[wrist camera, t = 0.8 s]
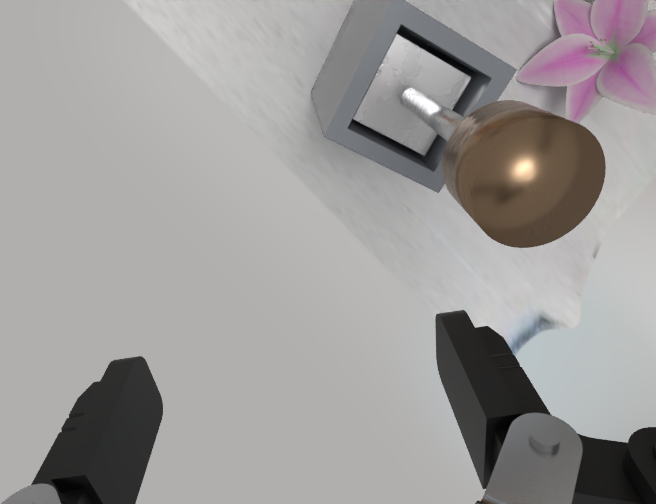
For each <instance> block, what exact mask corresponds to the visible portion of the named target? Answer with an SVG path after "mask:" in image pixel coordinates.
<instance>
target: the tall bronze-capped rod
mask: <svg viewBox="0 0 656 504" xmlns="http://www.w3.org/2000/svg"><path fill="white" fill-rule="evenodd" d="M470 79H471V77H469V76H468V75H466V74H464V73H463V72H461V71H459V70H457V69H456V68H454V67H452V66H451V65H449V64H447V63H445V62H444V61H442V60H440V59H439V58H437V57H435V56H434V55H432V54H430V53H428V52H427V51H425V50H423V49H422V48H420V47H418V46H417V45H415V44H413V43H411V42H410V41H408V40H406V39H405V38H403V37H401V36H400V35H398V34H396V35H395V37H394V39H393V41H392V43H391V45H390V47H389V49H388V50H387V52H386V54H385V56H384V58H383V60H382V62H381V64H380V66H379V68H378V70H377V72H376V74H375V76H374V78H373V80H372V81H371V83H370V85H369V87H368V89H367V91H366V93H365V95H364V97H363V99H362V101H361V103H360V105H359V107H358V109H357V111H356V113H355V114H354V116H353V119H354V120H356V121H358V122H360V123H362V124H364V125H366V126H368V127H370V128H372V129H373V130H375V131H377V132H379V133H381V134H383V135H385V136H387V137H389V138H391V139H393V140H395V141H397V142H399V143H401V144H403V145H405V146H407V147H409V148H411V149H412V150H414V151H416V152H418V153H420V154H422V155H424V156H425V154H426V153H427V151H428V149H429V148H430V146H431V144H432V143H433V141H434V139H435V138H436V136H437V134H439V135H440V136H441V137H443V138H444V139H445V140H446V141H448V142H447V145H446V147H445V150H444V154H443V160H442V173H443V179H444V182H445V185H446V187H447V189H448V191H449V192H450V194H451V195H452V196H453V197H454V199H455V200H456V201H457V202H458V203H459V204H460V205H461V206H462V207H463V209H464V210H465V211H466V212H467V213H468V214H469V215H470V216H471V217H472V219H473V220H474V221H475V222H476V223H477V224H478V225H479V226H480V228H481V229H482V230H483V231H484V232H485V233H486V234H487V235H488V236H489V237H491V238H492V239H493V240H495V241H497V242H499V243H501V244H504V245H507V246H511V247H519V248H527V247H535V246H540V245H544V244H547V243H549V242H552V241H554V240H556V239H558V238H560V237H562V236H564V235H565V234H567V233H568V232H570V231H571V230H572V229H574V228H575V227H576V226H577V225H578V224H579V223H580V222H581V221H582V220H583V219H584V218H585V217H586V216H587V215H588V213H589V212H590V211H591V209H592V208H593V206H594V205H595V203H596V201H597V199H598V197H599V195H600V193H601V190H602V187H603V183H604V178H605V157H604V154H603V150H602V148H601V145H600V143H599V142H598V140H597V139H596V137H595V136H594V135H593V134H592V133H591V132H590V131H589V130H588V129H586V128H585V127H583V126H582V125H580V124H577V123H575V122H573V121H570V120H568V119H565V118H562V117H560V116H557V115H555V114H552V113H550V112H547V111H544V110H542V109H539V108H537V107H534V106H531V105H529V104H526V103H523V102H520V101H513V100H504V101H497V102H493V103H490V104H487V105H485V106H482V107H480V108H479V109H477V110H475V111H474V112H472V113H471V114H469V115H468V116H467V117H466V118H464V117H462V116H461V115H459V114H457V113H456V112H454V111H452V109H453V108H454V106H455V104H456V103H457V101H458V99H459V98H460V96H461V94H462V93H463V91H464V89H465V88H466V86H467V84H468V83H469V81H470Z"/></svg>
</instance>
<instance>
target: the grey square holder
mask: <svg viewBox="0 0 656 504" xmlns="http://www.w3.org/2000/svg"><path fill="white" fill-rule="evenodd" d="M396 34H398V35H400V36H401V37H403V38H405V39H406V40H408V41H410V42H411V43H413V44H415V45H417V46H418V47H420V48H422V49H423V50H425V51H427V52H428V53H430V54H432V55H434V56H435V57H437V58H439V59H440V60H442V61H444V62H445V63H447V64H449V65H451V66H452V67H454V68H456V69H457V70H459V71H461V72H463V73H464V74H466V75H468V76H469V77H471V79H470V81H469V83H468V84H467V86H466V88H465V89H464V91H463V93H462V94H461V96H460V98H459V99H458V101H457V103H456V104H455V106H454V108H453V109H452V111H454V112H456V113H457V114H459V115H461V116H462V117H464V118H466V117H467V116H468V115H469V114H471V113H472V112H474V111H475V110H477V109H479V108H480V107H482V106H485V105H487V104H490V103H493V102H497V100H498V99H499V97H500V96H501V94H502V92H503V91H504V89H505V88H506V86H507V85H508V83H509V81H510V80H511V78H512V77H513V75H514V73H515V72H516V70H517V69H515V68H513V67H512V66H510V65H509V64H507V63H505V62H504V61H502V60H500V59H499V58H497V57H496V56H494V55H492V54H491V53H489V52H487V51H486V50H484V49H483V48H481V47H479V46H478V45H476V44H474V43H473V42H471V41H470V40H468V39H466V38H465V37H463V36H461V35H460V34H458V33H456V32H455V31H453V30H452V29H450V28H448V27H447V26H445V25H443V24H442V23H440V22H439V21H437V20H435V19H434V18H432V17H430V16H429V15H427V14H426V13H424V12H422V11H421V10H419V9H417V8H416V7H414V6H413V5H411V4H409V3H408V2H406V1H404V0H354V1H353V3H352V5H351V7H350V10H349V12H348V14H347V16H346V18H345V20H344V22H343V25H342V27H341V29H340V31H339V33H338V35H337V37H336V40H335V42H334V44H333V46H332V48H331V50H330V52H329V54H328V57H327V59H326V61H325V63H324V65H323V67H322V69H321V72H320V74H319V76H318V78H317V80H316V82H315V84H314V87H313V89H312V91H311V96H312V99H313V102H314V106H315V109H316V112H317V115H318V119H319V122H320V125H321V129H322V132H323V135H324V137H326V138H328V139H330V140H332V141H334V142H336V143H338V144H340V145H342V146H344V147H346V148H348V149H350V150H352V151H354V152H356V153H358V154H360V155H362V156H364V157H367V158H369V159H371V160H373V161H375V162H377V163H379V164H381V165H383V166H385V167H387V168H389V169H391V170H393V171H395V172H397V173H399V174H401V175H403V176H405V177H407V178H409V179H411V180H413V181H415V182H417V183H419V184H421V185H424V186H426V187H428V188H430V189H432V190H434V191H436V192H438V193H439V192H440V190H441V188H442V187H443V185H444V184H445V182H444V179H443V173H442V160H443V154H444V150H445V147H446V145H447V142H448V141H446V140H445V139H444V138H443V137H441V136H440V135H439V134H437V136H436V138H435V139H434V141H433V143H432V144H431V146H430V148H429V149H428V151H427V153H426V154H425V156H424V155H422V154H420V153H418V152H416V151H414V150H412V149H411V148H409V147H407V146H405V145H403V144H401V143H399V142H397V141H395V140H393V139H391V138H389V137H387V136H385V135H383V134H381V133H379V132H377V131H375V130H373V129H372V128H370V127H368V126H366V125H364V124H362V123H360V122H358V121H356V120H354V119H353V116H354V114H355V113H356V111H357V109H358V107H359V105H360V103H361V101H362V99H363V97H364V95H365V93H366V91H367V89H368V87H369V85H370V83H371V81H372V80H373V78H374V76H375V74H376V72H377V70H378V68H379V66H380V64H381V62H382V60H383V58H384V56H385V54H386V52H387V50H388V49H389V47H390V45H391V43H392V41H393V39H394V37H395V35H396Z"/></svg>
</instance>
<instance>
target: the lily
mask: <svg viewBox="0 0 656 504" xmlns="http://www.w3.org/2000/svg"><path fill="white" fill-rule="evenodd" d="M647 8H648V0H595V1H594V3H593V4H591V3H588V2H586V1H583V0H554V11H555V17H556V21H557V25H558V29H559V32H560V34H561V37H560V38H558V39H557V40H555V41H553V42H551V43H550V44H549V45H547V46H546V47H545V48H543V49H542V50H541V51H540V52H538V53H537V54H536V55H535V56H534V57H533V58H531V59H530V60H529V61H528V62H527V63H526V64H525V65H524V66H523V67H522V68H521V70H520V71H519V72H518V74H517V78H516V79H517V80H518V81H519V82H522V83H526V84H533V85H543V86H555V87H558V86H568V87H567V92H566V108H565V109H566V119H568V120H570V121H573V122H575V123H577V124H578V123H579V122H580V121H581V120H582V119H583V118H584V117H585V116H586V115H587V114H588V113H589V112H590V110H591V109H592V108H593V107H594V106H595V105H596V104H597V103H598V101H599V100H600V99H601V98H602V97H603V96H605V97H606V98H608V99H610V100H612V101H614V102H617V103H619V104H622V105H624V106H627V107H629V108H632V109H635V110H638V111H641V112H644V113H649V114H656V64H655V60H654V58H653V55H652V53H654V52H655V51H656V10H652V11H647Z"/></svg>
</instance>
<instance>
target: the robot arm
mask: <svg viewBox="0 0 656 504" xmlns="http://www.w3.org/2000/svg"><path fill="white" fill-rule="evenodd" d="M436 358H437V365H438V371H439V374H440V378H441V381H442V384H443V386H444V389H445V392H446V394H447V397H448V399H449V402H450V404H451V407H452V409H453V412H454V415H455V417H456V420H457V423H458V425H459V428H460V430H461V433H462V436H463V438H464V441H465V443H466V446H467V449H468V451H469V454H470V456H471V459H472V462H473V464H474V467H475V469H476V472H477V475H478V477H479V480H480V482H481V485H482V487H483V489H486V491H485V494H484V496H483V499H482V500H481V501H477V502H476V503H475V504H656V427H648V428H642V429H640V430H637V431H636V432H634V433H633V434H632V435H631V437H630V439H629V441H628V443H624V442H617V441H610V440H609V441H608V440H602V439H595V438H590V437H586V436H582V435H580V434H577V433H576V431H575V430H574V429H573V428H572V427H571V426H570V425H569V424H567V423H566V422H564V421H562V420H561V419H559V418H557V417H554V416H552V415H551V414H550V412H549V411H548V409H547V408H546V406H545V404H544V403H543V401H542V400H541V398H540V397H539V395H538V393H537V392H536V390H535V388H534V387H533V385H532V383H531V382H530V380H529V378H528V377H527V375H526V374H525V372H524V370H523V369H522V367H520V365H519V362H518V361H517V359H516V357H515V356H514V355H513V354H512V351H511V349H510V348H509V346H508V344H507V343H506V341H505V340H504V338H503V337H502V336H501V335H499V334H498V333H496V332H495V331H494V330H492V329H491V328H490V327H488V326H484V327H478V328H475V327H474V325H473V324H472V322H471V320H470V318H469V316H468V314H467V313H466V311H464V310H461V311H454V312H447V313H440V314H437V315H436ZM162 415H163V404H162V398H161V395H160V393H159V391H158V388H157V386H156V383H155V381H154V379H153V376H152V374H151V372H150V369H149V367H148V365H147V362H146V360H145V359H144V358H143V357H141V356H139V357H133V358H125V359H119V360H114V361H111V363H110V364H109V365H108V368H107V369H106V371H105V373H104V376H103V377H102V379H101V381H100V382H94V383H93V384H92V385H91V386H90V387H89V388H88V389H87V390H86V391H85V392H84V393H83V394H82V395H81V396H80V397H79V398H78V399H77V401H76V403H75V405H74V407H73V408H72V411H71V412H70V414H69V418H67V420H66V421H65V423H64V425H63V427H62V432H60V433H59V434H58V436H57V438H56V440H55V442H54V444H53V446H52V447H51V449H50V451H49V453H48V455H47V457H46V458H45V460H44V462H43V464H42V466H41V468H40V470H39V471H38V473H37V475H36V477H35V479H34V481H33V483H32V484H31V486H28V487H26V488H23V489H21V490H19V491H18V492H16V493H15V494H13V495H11V496H10V497H9V498H8V499H6V500H5V501H4V502H3V503H2V504H135V503H136V500H137V496H138V493H139V490H140V487H141V484H142V480H143V477H144V474H145V471H146V468H147V464H148V461H149V458H150V455H151V452H152V448H153V445H154V442H155V439H156V435H157V433H158V430H159V426H160V423H161V420H162Z"/></svg>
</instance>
